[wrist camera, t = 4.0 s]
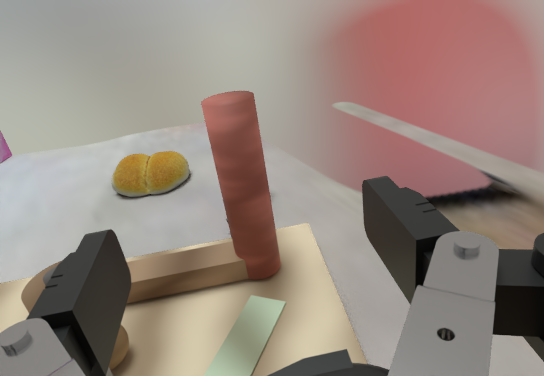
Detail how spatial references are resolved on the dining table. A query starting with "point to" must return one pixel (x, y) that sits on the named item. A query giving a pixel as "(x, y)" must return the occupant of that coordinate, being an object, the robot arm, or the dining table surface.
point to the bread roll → (150, 174)
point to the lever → (239, 209)
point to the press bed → (228, 319)
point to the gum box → (4, 149)
